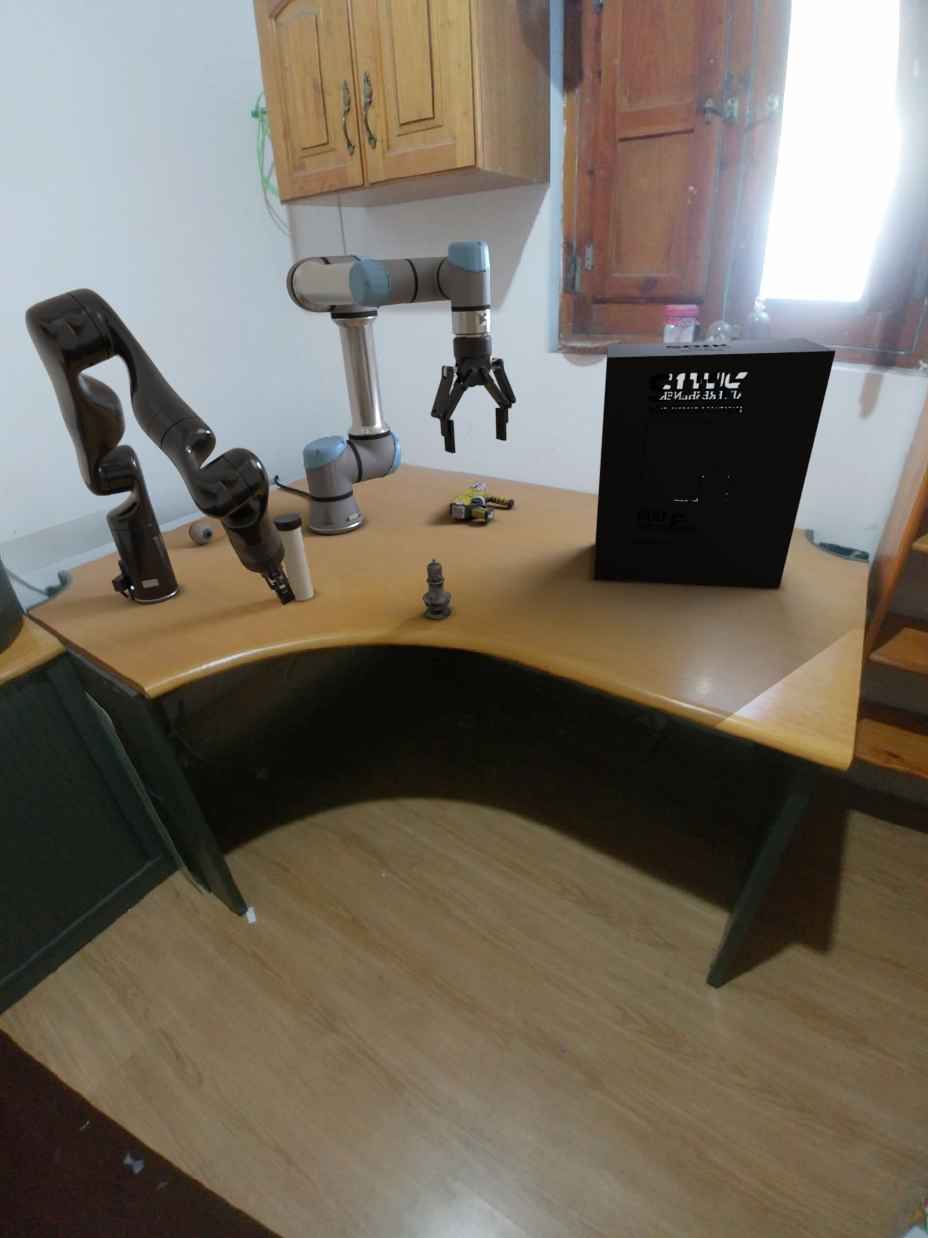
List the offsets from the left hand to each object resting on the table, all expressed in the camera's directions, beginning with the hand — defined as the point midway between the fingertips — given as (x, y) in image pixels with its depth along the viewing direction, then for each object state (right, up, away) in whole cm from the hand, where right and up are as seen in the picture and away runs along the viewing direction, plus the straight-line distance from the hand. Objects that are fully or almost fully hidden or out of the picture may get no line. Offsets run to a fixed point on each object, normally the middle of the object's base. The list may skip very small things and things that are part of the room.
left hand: (276, 582), depth 113 cm
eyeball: (-35, +14, +49) cm, 62 cm away
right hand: (+38, +30, +14) cm, 50 cm away
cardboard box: (+84, +6, +23) cm, 87 cm away
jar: (0, -2, +19) cm, 19 cm away
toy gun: (+42, +25, +61) cm, 78 cm away
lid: (-1, +14, +11) cm, 17 cm away
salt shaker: (+30, -6, +10) cm, 32 cm away
